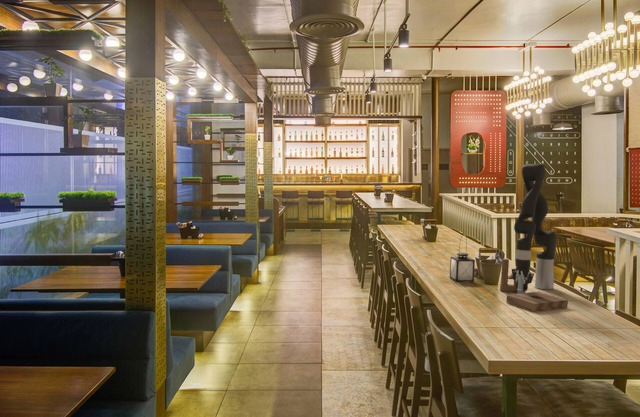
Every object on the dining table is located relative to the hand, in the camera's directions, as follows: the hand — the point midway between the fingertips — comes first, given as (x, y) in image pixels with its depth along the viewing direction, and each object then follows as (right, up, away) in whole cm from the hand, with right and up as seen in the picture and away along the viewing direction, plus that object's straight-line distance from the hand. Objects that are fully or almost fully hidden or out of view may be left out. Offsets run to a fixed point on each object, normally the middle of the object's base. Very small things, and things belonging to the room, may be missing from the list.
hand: (521, 289), depth 268 cm
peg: (0, -4, 0) cm, 4 cm away
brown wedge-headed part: (-2, -3, +12) cm, 12 cm away
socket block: (+1, -5, -17) cm, 17 cm away
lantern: (-21, 0, +39) cm, 44 cm away
